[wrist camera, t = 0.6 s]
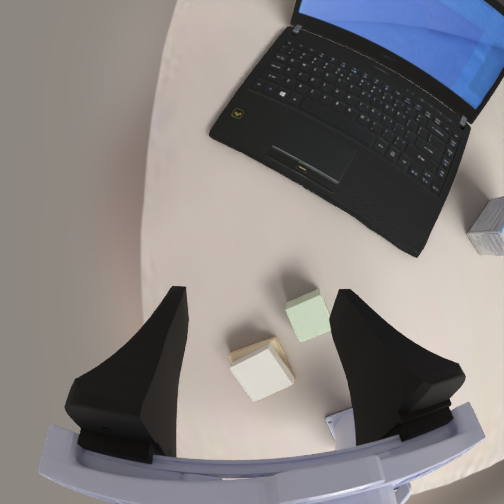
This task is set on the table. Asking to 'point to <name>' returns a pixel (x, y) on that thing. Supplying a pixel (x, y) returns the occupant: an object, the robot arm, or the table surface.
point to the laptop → (372, 105)
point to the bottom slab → (246, 350)
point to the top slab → (262, 372)
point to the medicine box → (489, 229)
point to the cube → (308, 315)
